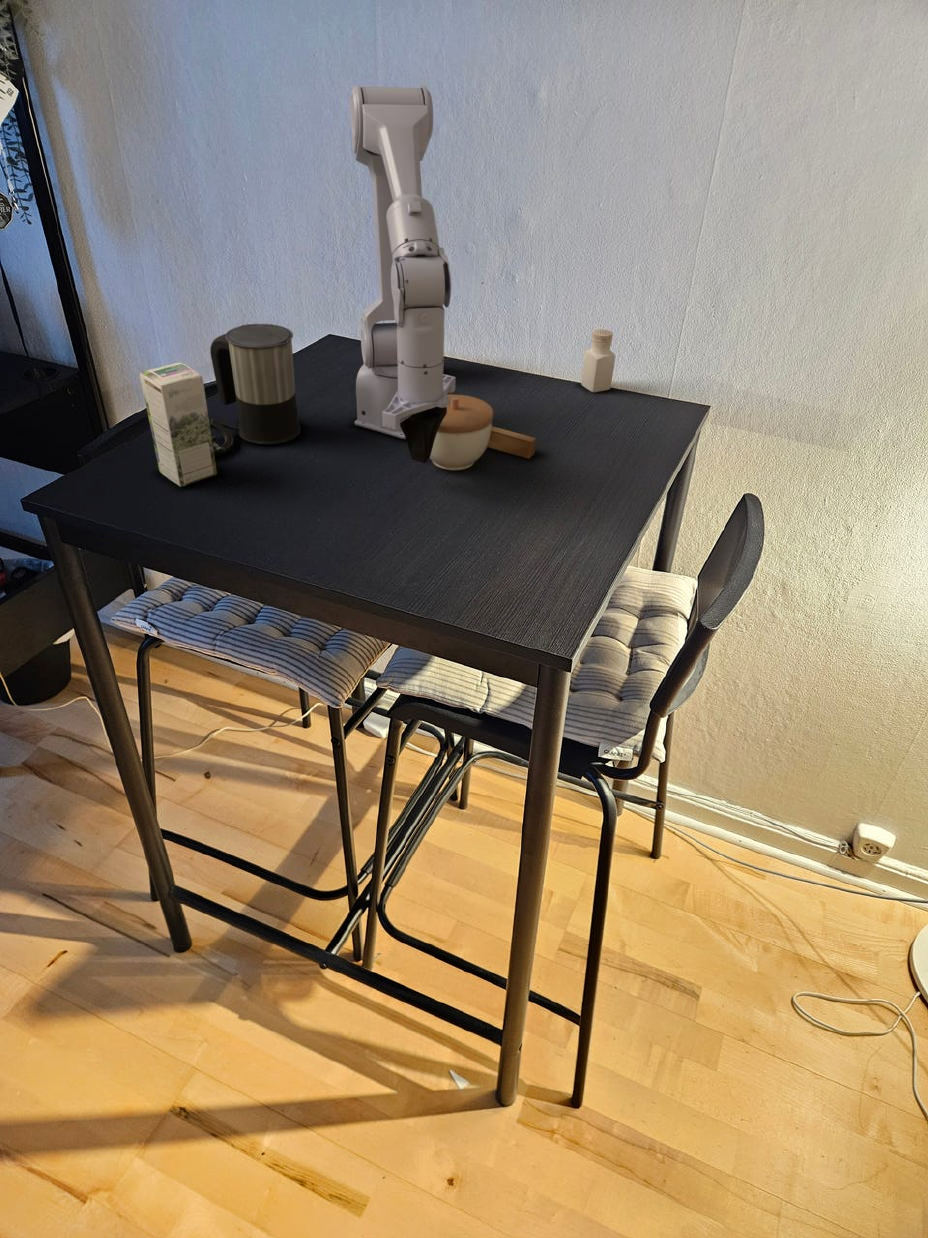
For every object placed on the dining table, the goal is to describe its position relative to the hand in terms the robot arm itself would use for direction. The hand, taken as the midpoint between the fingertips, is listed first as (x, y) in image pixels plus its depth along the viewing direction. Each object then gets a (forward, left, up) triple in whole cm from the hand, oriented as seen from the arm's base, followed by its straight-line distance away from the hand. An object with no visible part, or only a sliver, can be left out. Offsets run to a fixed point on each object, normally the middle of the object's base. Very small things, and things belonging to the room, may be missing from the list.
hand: (420, 459), depth 111 cm
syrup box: (-28, -15, -4) cm, 32 cm away
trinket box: (0, +9, -4) cm, 10 cm away
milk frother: (-29, -2, -4) cm, 29 cm away
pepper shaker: (+7, +45, -4) cm, 46 cm away
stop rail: (+1, +16, -4) cm, 17 cm away
